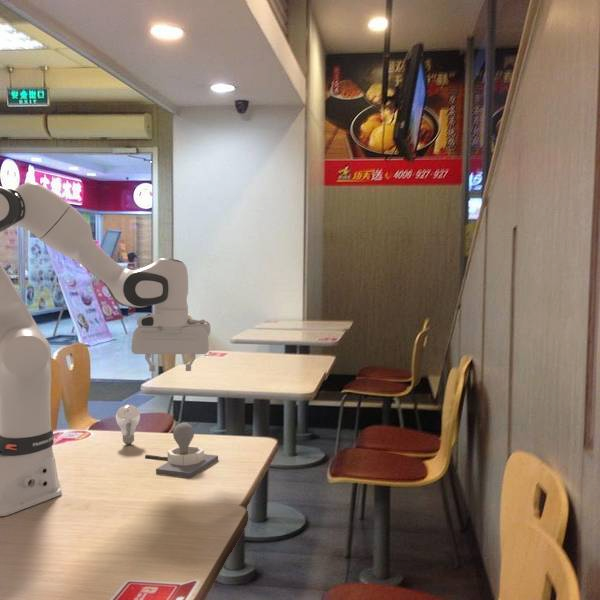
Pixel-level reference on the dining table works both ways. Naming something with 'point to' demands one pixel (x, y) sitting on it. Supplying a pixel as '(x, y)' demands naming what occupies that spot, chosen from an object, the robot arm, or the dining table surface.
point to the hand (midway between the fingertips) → (170, 370)
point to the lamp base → (184, 462)
